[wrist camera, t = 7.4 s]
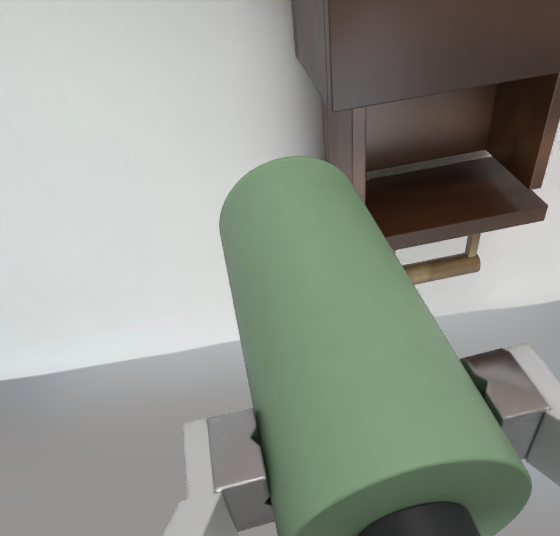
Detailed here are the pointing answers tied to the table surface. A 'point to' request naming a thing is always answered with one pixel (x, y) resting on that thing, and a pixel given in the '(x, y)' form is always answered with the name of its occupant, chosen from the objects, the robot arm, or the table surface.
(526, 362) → the robot arm
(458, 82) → the cabinet
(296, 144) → the table surface
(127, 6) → the table surface
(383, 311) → the oil bottle
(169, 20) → the table surface
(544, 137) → the drawer
